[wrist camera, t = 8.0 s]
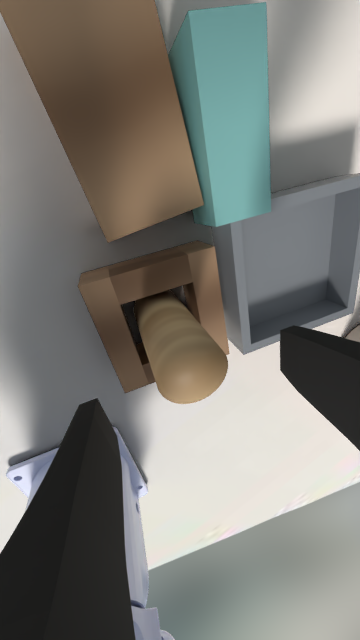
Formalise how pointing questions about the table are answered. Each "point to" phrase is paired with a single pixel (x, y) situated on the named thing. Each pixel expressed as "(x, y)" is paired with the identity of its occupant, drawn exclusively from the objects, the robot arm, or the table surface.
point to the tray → (291, 262)
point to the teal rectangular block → (226, 108)
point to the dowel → (179, 349)
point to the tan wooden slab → (110, 105)
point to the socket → (144, 280)
